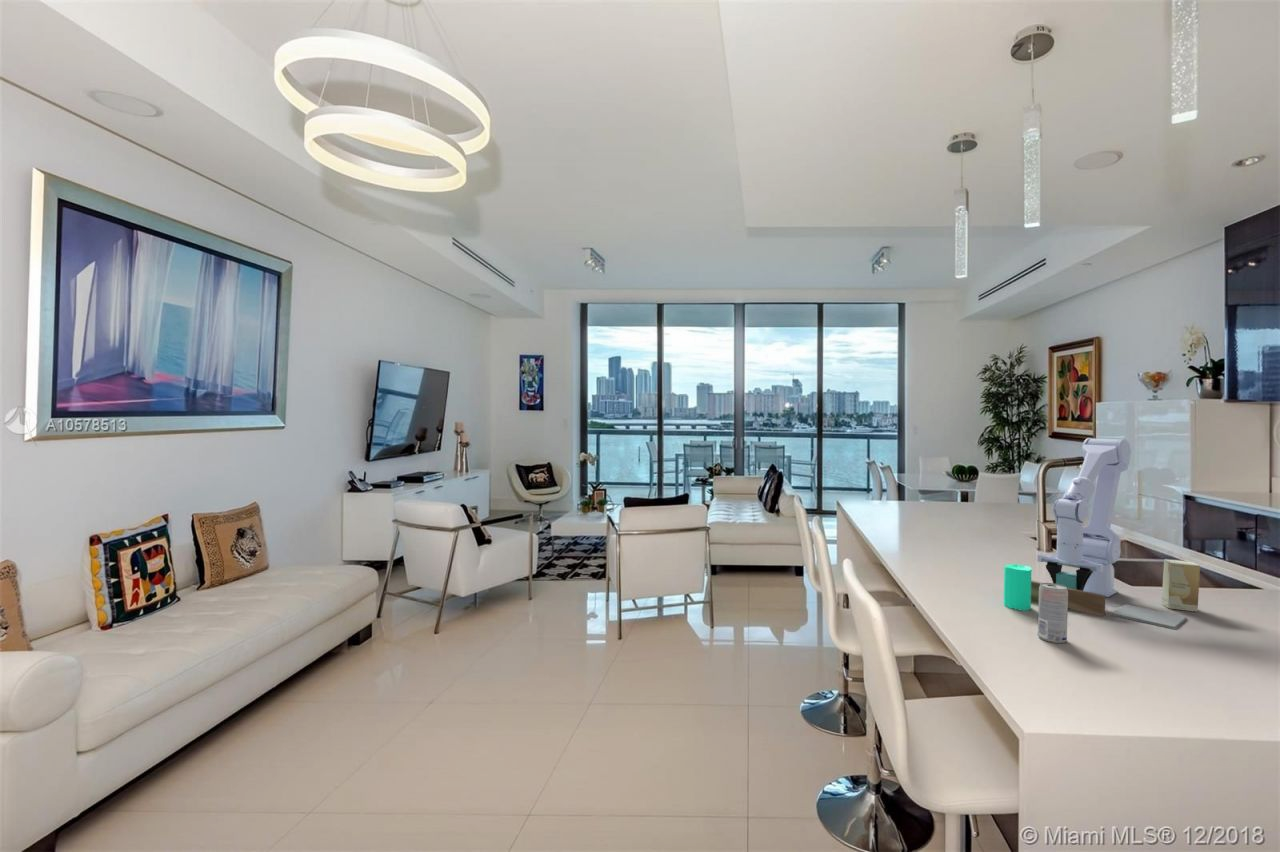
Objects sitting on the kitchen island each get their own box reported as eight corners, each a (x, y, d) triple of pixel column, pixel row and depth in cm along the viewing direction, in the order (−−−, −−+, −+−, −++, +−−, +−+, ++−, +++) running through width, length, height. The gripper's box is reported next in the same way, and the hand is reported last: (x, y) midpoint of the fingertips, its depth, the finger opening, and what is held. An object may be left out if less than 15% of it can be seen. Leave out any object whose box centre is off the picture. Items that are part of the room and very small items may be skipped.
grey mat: (1125, 606, 156) (1125, 604, 156) (1186, 619, 147) (1186, 616, 147) (1111, 615, 149) (1111, 612, 149) (1174, 629, 139) (1174, 626, 139)
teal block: (1061, 596, 165) (1062, 571, 164) (1080, 600, 161) (1081, 574, 161) (1055, 599, 162) (1056, 573, 162) (1075, 603, 158) (1075, 577, 158)
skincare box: (1168, 609, 154) (1169, 562, 154) (1160, 604, 158) (1162, 558, 158) (1199, 612, 152) (1201, 565, 152) (1191, 607, 156) (1192, 561, 156)
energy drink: (1062, 636, 134) (1063, 583, 134) (1070, 645, 129) (1071, 590, 129) (1034, 633, 136) (1035, 581, 136) (1041, 641, 131) (1043, 587, 131)
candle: (1022, 603, 158) (1023, 558, 158) (1035, 610, 152) (1036, 564, 152) (999, 602, 158) (1000, 557, 158) (1010, 609, 153) (1011, 563, 152)
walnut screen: (1016, 595, 165) (1017, 577, 165) (1105, 615, 149) (1105, 595, 149) (1014, 596, 164) (1014, 578, 164) (1103, 616, 148) (1103, 596, 148)
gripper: (1033, 540, 164) (1032, 588, 165) (1097, 550, 153) (1096, 602, 153) (1043, 537, 169) (1042, 584, 169) (1106, 546, 157) (1104, 597, 157)
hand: (1068, 592), depth 161 cm, fingers closed on teal block, 4 cm apart
